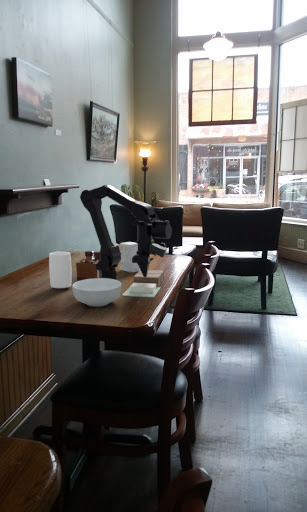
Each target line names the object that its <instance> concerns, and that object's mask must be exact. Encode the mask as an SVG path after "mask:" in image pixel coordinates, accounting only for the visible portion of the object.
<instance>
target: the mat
mask: <svg viewBox="0 0 307 512" xmlns="http://www.w3.org/2000/svg"><path fill="white" fill-rule="evenodd" d="M161 288H162V287H161V286H159V287H156V290H155V291H154V293H148V292H130V286H129V287H128V288H127V289H126V290H125V291H124V293H122V295H121V296H122V297H134V298H135V297H138V298H140V297H141V298H155V296H156V295H157V294H158V292H159V291H160V289H161Z"/></svg>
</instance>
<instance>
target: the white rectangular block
mask: <svg viewBox="0 0 307 512" xmlns="http://www.w3.org/2000/svg"><path fill="white" fill-rule="evenodd" d="M129 287H130V292H148V293H154V291H155V290H156V284H150V283H134V282H133V283H132V284H131V285H130V286H129Z"/></svg>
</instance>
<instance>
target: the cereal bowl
mask: <svg viewBox="0 0 307 512" xmlns="http://www.w3.org/2000/svg"><path fill="white" fill-rule="evenodd" d="M71 287H72V288H71V290H72V294H73V297H74V298H75V299H76V300H77V301H78V302H80V303H83V304H84V305H85V304H86V305H87V306H88V307H93V308H94V307H104V306H105V307H106V306H107V305H109V304H110V303H113V302H115V301H116V300H117V299H118V298H119V297H120V296H121V294H122V282H121V281H120V280H118V279H117V280H114V279H108V278H99V277H95V278H86V279H82V280H78V281H76V282H73V284H71Z"/></svg>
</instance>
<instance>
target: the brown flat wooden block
mask: <svg viewBox="0 0 307 512" xmlns="http://www.w3.org/2000/svg"><path fill="white" fill-rule="evenodd" d="M164 280H165V270H164V269H161V270H160V269H148V273H147V277H143V274H142V272H141V270H140V271H137V273H136V274H135V275H133V283H150V284H156V287H161V285H162V284H163V282H164Z"/></svg>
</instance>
